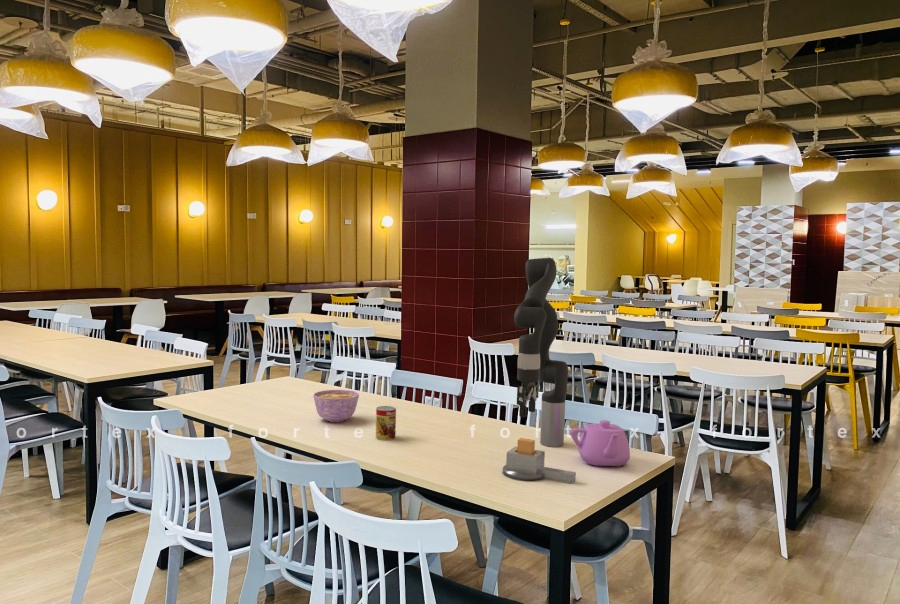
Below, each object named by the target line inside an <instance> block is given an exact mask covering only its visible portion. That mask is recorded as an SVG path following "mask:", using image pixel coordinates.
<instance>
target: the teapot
mask: <svg viewBox="0 0 900 604" xmlns="http://www.w3.org/2000/svg"><path fill="white" fill-rule="evenodd" d="M569 432H570V436H571V437H570V438H571V439H572V440H573V442H574V443H575V445H576V446H577V448H578V449H577V450H578V453H579V456H580V458H581V459H582V460H583V461H584V462H585V463H586V464H588V465H592V466H593V465H595V466H594V467H600V466H603V467H604V466H605V467H620V466H625V465H627V463H629V460H630V458H631V451H630V443H629V441H628V438H627V435H626V433H625V430H624V429H623V428H622V427H621V426H620V425H618V424H612V423H611V421H609V420H605V419H602V420H599V423H587V424H586V425H585V426H584V428H581V427H579V428H578V427H575V428H574V427H573V428H571V429H570V430H569ZM578 433H581V435H580V438H579V437H578ZM599 465H600V466H599ZM619 465H620V466H619Z"/></svg>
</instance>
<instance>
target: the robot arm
mask: <svg viewBox="0 0 900 604" xmlns="http://www.w3.org/2000/svg"><path fill="white" fill-rule="evenodd" d="M524 268H525V276H526V282H527V287H528V289H527V291H526V292H525V295H524V298H523V299H524V300H523V301H522V302H521V303H520V304H519V305H518V307H516V310H515V311H514V313H513V314H514V315H513V320H514V323H515V325H516V326H517V327H518V328H523V329H524V328H525V329H534V331H533V332H532V333H530V334H523V335H520V337H519V339H518V355H517V356H518V357H517V374H516V375H517V376H516V378H517V380H518V382H521V386H517V389H516V405H518V406H519V418H526V417H527V410H528V412H530V413H535V412H536V401H537V400H538V399H539V386H540V385H539V384H540V383H539V381H541V382H542V383H546V384H553V385H554V388H553V389H552V390H549V391H544V392H543V393H541V410H540V411H541V412H540V413H541V414H540V433H539V434H540V436H539V437H540V439H539V440H540V441H539V443H540V445H543V446H545V447H550V448H551V447H552V448H553V447H554V448H557V447H562V446H564V444H565V442H564V441H565V420H566V419H565V418H566V397H567V390H568V378H569V367H568V363H567V362H566V361H564V360H556V359H550V348H551V345H552V343H553V342H554V340H555V339H556V337H557V335H558V332H559V321H558V314H557V311H556V309H555V308H554V307H553V305H551V303H550V302H549V301H548V300H547V299H546V298H547V295H548V293H549V292H550V290H551V288H552V286H553V285H554V282H555V280H556V278H557V264H556V261H555V260H554V258H552V257H540V258H538V257H537V258H530V259H527V260H526V262H525V267H524ZM527 404H528V407H527ZM527 408H528V409H527Z"/></svg>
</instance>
